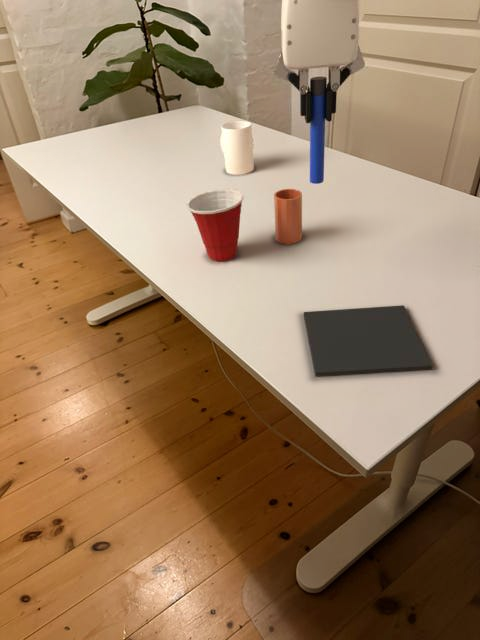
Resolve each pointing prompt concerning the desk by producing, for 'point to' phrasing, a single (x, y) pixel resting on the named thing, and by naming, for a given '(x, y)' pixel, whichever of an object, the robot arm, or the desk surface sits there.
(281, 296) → the desk surface
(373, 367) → the desk mat
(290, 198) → the pen glass
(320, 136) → the marker
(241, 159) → the mug
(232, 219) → the plastic cup
